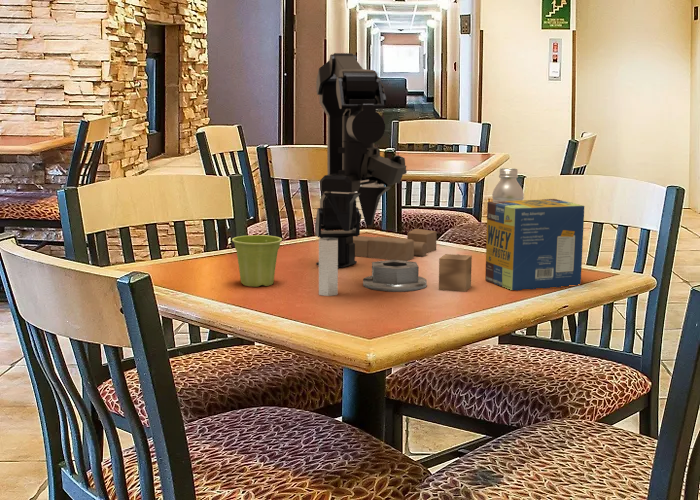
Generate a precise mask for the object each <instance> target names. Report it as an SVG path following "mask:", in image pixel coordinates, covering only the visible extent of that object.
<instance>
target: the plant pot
mask: <svg viewBox="0 0 700 500" xmlns="http://www.w3.org/2000/svg"><path fill="white" fill-rule="evenodd" d="M231 240H232V242H233V244H234V249H235V250H236V257H237V263H238V269H239V278H240V283H241V284H243V285H242V286H246V287H253V288H256V287H257V288H258V287H260V286H265V287H269V286H272V285H273V284H274V281H275V274H276V273H275V272H276V266H277V258H278V252H279V249H280V247H281V242H282V241H283V238H282V237H279V236H275V235H267V234H254V235H253V234H251V235H240V236H235V237H232V239H231Z"/></svg>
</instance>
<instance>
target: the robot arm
mask: <svg viewBox="0 0 700 500" xmlns="http://www.w3.org/2000/svg"><path fill="white" fill-rule="evenodd" d="M315 85H316V87H315V90H316V91H315V92H316V95H317V96H318V97H319V98H318V99H319V100H318V101H319V104H320V106H321V108H322V110H323V112H324V113H325V115H326V121H327V123H326V125H327V127H326V130H327V134H326V135H327V137H326V140H327V142H326V143H327V144H326V145H327V146H326V147H327V148H326V149H327V150H326V151H327V153H326V154H327V160H326V163H327V171H326V172H327V174H326V175H325V174H324V175H323V176H322V178H321V179H319V191H320V192H323V194H322V196H321V197H320V199H319V207H318V208H317V212H316V216H315V217H316V218H315V222H314V229H315V231H314V232H315V235H316V236H317V238H328V237H329V238H338V268H347V267H348V266H353V265H355V264H357V263H358V262H357V260H356V256H355V243H353V236H355V237H358V236H361V234H360V230H361V228H360V227H361V221H362V217H363V219H364V223H365V225H366V226H372V225H373V223H374V219H375V217H376V212H377V211H378V210H377V209H378V206H379V203H380V200H381V198H382V196H383V195H384V194H385V193H386V192H387V191H389V190H390V189H391V186H392V185H395V184H401V181H402V178H403V175H406V174H407V173H408V171H407V165H406V160H405V159H406V158H405V157H403V156H402V155H394V156H392V157H391V158H389V157H384V156H381V150H380V148H379V147H378V146H375V143H377V142H378V141H379V140H381V139H382V137H383V136H384V134H385V131H386V124H385V121H384V118H383V116H382V115H381V114H379V113H378V112H377V110H384V109H385V106H386V104H387V103H386V102H387V96H386V92H385V87H384V83H383V82H382V78H381V77H380V76H378V72H376V71H375V70H373V69H364V68H363V67H362V65H360V63H359V61H358V59H357V54H354V53H350V52H347V53H346V52H334V53H332V54H330V55H329V59H328V61H326V62H325V63H324V64H323V65H322V66H321V67H320V66H319V68H318V71H317V77H316V83H315ZM357 198H358V201H359V204H360V207H361V212H362V214H361V213H360V209H359V207H357ZM315 266H319V261H318V262H315Z"/></svg>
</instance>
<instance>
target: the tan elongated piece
mask: <svg viewBox="0 0 700 500" xmlns="http://www.w3.org/2000/svg"><path fill="white" fill-rule="evenodd" d="M318 262H319V265H318V295H319V296H325V297H331V296H332V297H333V296H338V295H339V294H338V293H339V291H338V290H339V289H338V288H339V284H338V283H339V273H338V272H339V267H338V238H329V237H328V238H320V237H318Z"/></svg>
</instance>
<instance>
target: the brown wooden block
mask: <svg viewBox="0 0 700 500" xmlns="http://www.w3.org/2000/svg"><path fill="white" fill-rule="evenodd" d="M472 257H473V255H468V254H467V255H466V254H453V253H452V254H451V253H450V254H448V253H445V254H444V255H442V256H441V257H439V258H438V259H439V260H438V263H439V264H438V291H444V292H445V291H446V292H461V293H466V292H468V290H469V289H470V288H471V287H472V267H473V266H472V264H473V263H472V262H473V261H472V260H473V259H472Z"/></svg>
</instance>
